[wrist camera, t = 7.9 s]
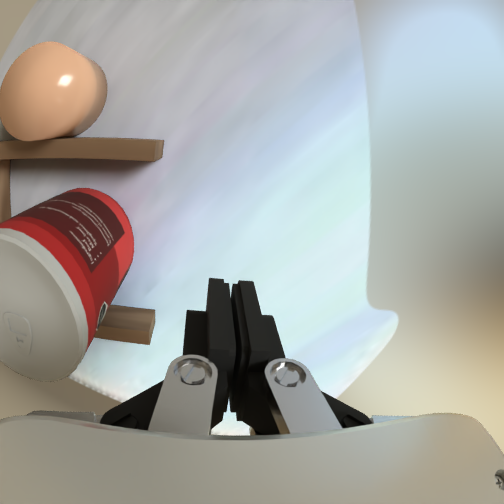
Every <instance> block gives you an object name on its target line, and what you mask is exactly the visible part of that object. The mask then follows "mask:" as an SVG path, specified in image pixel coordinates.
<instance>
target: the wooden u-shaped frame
mask: <svg viewBox="0 0 504 504" xmlns="http://www.w3.org/2000/svg"><path fill="white" fill-rule="evenodd" d="M163 146H164V140H153V139H133V138H90V137H81V138H55V139H44V140H35V141H23V140H7V141H0V223H2V222H4V221H6V220H8V219H10V218H11V205H10V159H29V158H87V159H117V160H137V161H153V162H154V161H156V160H159V159H161V158H162V155H163ZM154 325H155V310H152V309H143V308H134V307H125V306H117V305H110V306H109V308H108V310H107V312H106V314H105V316H104V318H103V320H102V322H101V324H100V326H99V328H98V330H97V332H96V334H95V336H94V337H95V338H101V339H108V340H115V341H122V342H130V343H138V344H146V345H150V341H151V337H152V333H153V329H154Z"/></svg>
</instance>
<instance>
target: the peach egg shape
mask: <svg viewBox="0 0 504 504" xmlns="http://www.w3.org/2000/svg"><path fill="white" fill-rule="evenodd" d="M106 97H107V80H106V77H105V74H104V72H103V70H102V69H101V67H100V66H99V65H98V64H97V63H95V62H94V61H92V60H91V59H89V58H87V57H85V56H83V55H82V54H80V53H78V52H76V51H74V50H72V49H71V48H69V47H67V46H65V45H63V44H61V43H57V42H43V43H39V44H37V45H34V46H32V47H31V48H29V49H27V50H26V51H25V52H23V53H22V54H21V55H20V56H19V57H18V58H17V59H16V60H15V61H14V63H13V64H12V65H11V67H10V68H9V70H8V72H7V74H6V75H5V78H4V80H3V83H2V86H1V89H0V118H1V121H2V123H3V125H4V127H5V129H6V130H7V131H8V133H10V134H11V135H12V136H13V137H15V138H17V139H19V140H23V141H35V140H44V139H55V138H66V137H73V136H76V135H78V134H80V133H82V132H84V131H85V130H87V129H88V128H89V127H90V126H91V125H92V124H93V123H94V122H95V121H96V120H97V118H98V117H99V115H100V114H101V112H102V110H103V107H104V105H105V102H106Z"/></svg>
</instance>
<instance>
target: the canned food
mask: <svg viewBox="0 0 504 504" xmlns="http://www.w3.org/2000/svg"><path fill="white" fill-rule="evenodd" d="M133 254H134V238H133V232H132V227H131V225H130V222H129V219H128V217H127V215H126V214H125V212H124V210H123V209H122V208H121V206H120V205H119V204H118V203H117V202H116V201H115V200H114V199H112V198H111V197H110V196H108V195H106V194H104V193H102V192H100V191H98V190H94V189H90V188H77V189H73V190H69V191H67V192H64V193H62V194H60V195H58V196H55V197H53V198H51V199H49V200H47V201H44V202H42V203H40V204H38V205H36V206H34V207H32V208H30V209H28V210H26V211H24V212H22V213H20V214H18V215H16V216H14V217H12V218H10V219H8V220H6V221H4V222H2V223H0V361H1V362H2V363H4V364H5V365H6V366H7V367H9V368H10V369H12V370H13V371H15V372H17V373H18V374H21V375H23V376H25V377H27V378H30V379H34V380H38V381H46V382H52V381H58V380H62V379H64V378H66V377H68V376H69V375H70V374H71V373H72V372H73V371H74V370H75V369H76V368H77V366H78V364H79V363H80V362H81V360H82V359H83V357H84V355H85V353H86V351H87V349H88V347H89V345H90V343H91V342H92V340H93V338H94V336H95V334H96V332H97V330H98V328H99V326H100V324H101V322H102V320H103V318H104V316H105V314H106V312H107V310H108V308H109V306H110V304H111V302H112V300H113V298H114V297H115V295H116V293H117V291H118V289H119V287H120V285H121V284H122V282H123V280H124V278H125V276H126V275H127V273H128V271H129V269H130V266H131V263H132V260H133Z"/></svg>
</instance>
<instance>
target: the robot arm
mask: <svg viewBox="0 0 504 504" xmlns="http://www.w3.org/2000/svg"><path fill="white" fill-rule="evenodd" d="M228 399H229V401H230V411H231V412H236V417H237V421H243V422H244V423H246V424H247V425H249V426H250V428H249V431H250V436H223V435H211V429H212V428H213V427H215V426H216V425H217V424H218V423H220V422H221V421H222V420H223V414H224V412H226V411H227V405H228ZM0 504H504V454H503V453H502V451H501V450H500V448H499V446H498V445H497V444H496V442H495V441H494V439H493V438H492V436H491V435H490V434H489V433H488V431H487V430H486V429H485V428H484V427H483V426H482V424H481V423H480V422H478V421H477V420H476V419H474V418H472V417H470V416H467V415H463V414H456V413H433V414H425V415H419V416H376V415H373V416H372V417H371V418H368V417H367V416H366V415H365V414H363V413H361V412H360V411H358V410H356V409H354V408H352V407H350V406H348V405H346V404H344V403H343V402H341V401H339V400H337V399H335V398H333V397H331V396H329V395H328V394H326V393H324V392H322V391H321V390H320V389H319V387H318V385H317V383H316V382H315V380H314V378H313V377H312V375H311V373H310V371H309V370H308V369H307V367H306V366H304V365H303V364H302V363H300V362H298V361H296V360H293V359H288V358H285V354H284V351H283V348H282V344H281V341H280V338H279V334H278V331H277V328H276V324H275V321H274V318H273V316H272V315H262V314H261V310H260V306H259V302H258V298H257V294H256V290H255V286H254V282H253V281H240V280H239V281H238V284H233V286H232V292H231V298H230V289H229V283H224V279H215V278H209V284H208V294H207V305H206V311H194V310H187V314H186V324H185V335H184V346H183V356H180V357H178V358H176V359H175V360H173V361H172V362H171V364H170V365H169V367H168V370H167V373H166V376H165V379H164V380H163V381H161V382H160V383H158V384H156V385H154V386H152V387H151V388H149V389H147V390H145V391H144V392H142V393H140V394H138V395H136V396H134V397H133V398H131V399H129V400H127V401H125V402H123V403H122V404H120V405H118V406H116V407H114V408H112V409H110V410H109V411H107V412H106V413H105V414H104V415H95V413H94V412H59V411H33V412H31V413H29V414H27V415H24V416H13V417H8V418H4V419H1V420H0Z"/></svg>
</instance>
